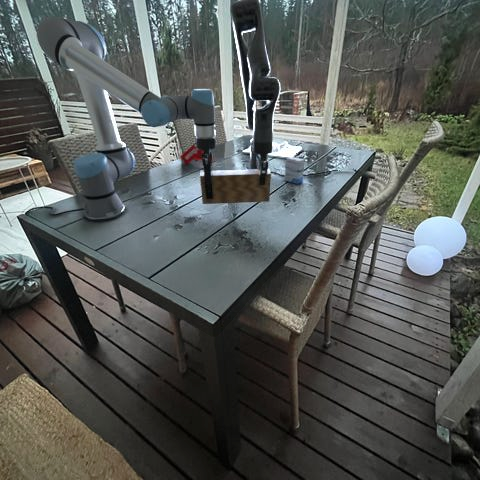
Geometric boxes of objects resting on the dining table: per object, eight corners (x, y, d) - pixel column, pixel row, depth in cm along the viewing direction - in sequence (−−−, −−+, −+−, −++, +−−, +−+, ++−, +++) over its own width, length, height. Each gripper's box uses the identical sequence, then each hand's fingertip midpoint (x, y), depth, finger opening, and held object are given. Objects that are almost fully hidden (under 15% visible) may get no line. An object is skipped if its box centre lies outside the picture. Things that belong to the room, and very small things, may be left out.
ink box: (302, 181, 142) (305, 159, 136) (297, 184, 139) (300, 161, 133) (289, 177, 147) (291, 156, 141) (284, 180, 144) (285, 158, 138)
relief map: (291, 159, 177) (291, 151, 174) (243, 153, 190) (243, 145, 187) (302, 149, 197) (303, 142, 194) (258, 144, 211) (258, 137, 208)
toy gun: (217, 159, 165) (202, 138, 161) (214, 161, 162) (199, 139, 158) (197, 174, 175) (183, 155, 171) (194, 176, 172) (179, 156, 168)
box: (267, 195, 118) (268, 168, 111) (269, 201, 113) (270, 173, 106) (203, 198, 116) (200, 170, 110) (202, 204, 111) (200, 175, 105)
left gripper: (215, 142, 92) (218, 204, 105) (216, 131, 108) (219, 186, 121) (193, 143, 92) (199, 205, 104) (197, 131, 108) (202, 186, 120)
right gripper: (276, 143, 96) (273, 188, 105) (269, 134, 108) (267, 175, 117) (254, 144, 95) (254, 189, 105) (250, 135, 108) (250, 176, 117)
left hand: (209, 195), depth 112 cm, fingers closed on box, 6 cm apart
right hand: (261, 181), depth 111 cm, fingers closed on box, 6 cm apart
